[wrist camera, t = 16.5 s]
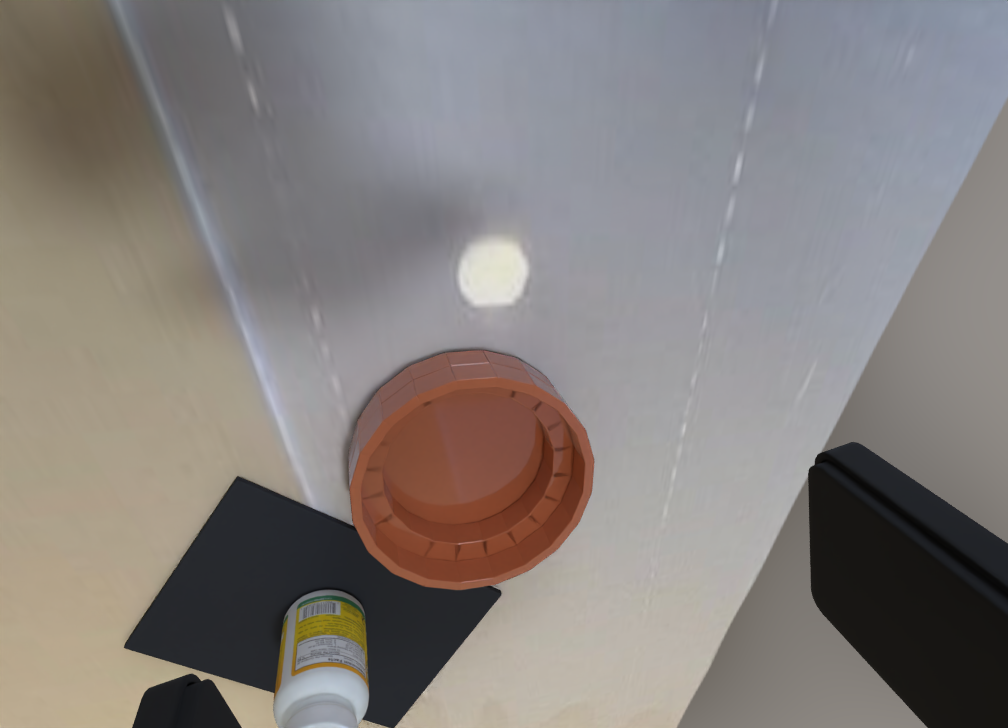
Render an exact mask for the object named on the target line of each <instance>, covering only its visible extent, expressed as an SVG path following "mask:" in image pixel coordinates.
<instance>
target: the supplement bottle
mask: <svg viewBox="0 0 1008 728" xmlns="http://www.w3.org/2000/svg"><path fill="white" fill-rule="evenodd" d="M368 702H369V683H368V665H367V640H366V624H365V613H364V609H363V607H362V605H361V604H360V602H359V601H358V600H356V599H355V598H354V597H353V596H351V595H349V594H347V593H345V592H342V591H338V590H319V591H315V592H312V593H309V594H307V595H305V596H303V597H301V598H300V599H298V600H297V601H296V602H295V603H294V604H293V605H292V606H291V607H290V608H289V610H288V611H287V613H286V615H285V618H284V622H283V628H282V637H281V645H280V654H279V663H278V671H277V678H276V687H275V693H274V705H273V712H274V718H275V721H276V723H277V725H278V727H279V728H358V724H359V723H360V722H361V720H362V719H363V717H364V715H365V713H366V710H367V707H368Z"/></svg>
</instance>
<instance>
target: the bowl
mask: <svg viewBox="0 0 1008 728" xmlns="http://www.w3.org/2000/svg"><path fill="white" fill-rule="evenodd" d="M593 472H594V457H593V454H592V450H591V447H590V443H589V440H588V436H587V433H586V430H585V428H584V427H583V425H582V424H581V423H580V421H579V420H578V419H577V417H576V416H575V414H574V413H573V412H572V410H571V409H570V408H569V406H568V405H567V403H566V402H565V401H564V399H563V398H562V397H561V395H560V394H559V393H558V391H557V390H556V389H555V388H554V386H553V385H552V384H551V382H550V381H549V380H548V378H547V377H546V376H545V375H543V374H542V373H540V372H539V371H537V370H536V369H534V368H532V367H531V366H529V365H528V364H526V363H524V362H523V361H521V360H520V359H517V358H515V357H511V356H506V355H502V354H498V353H494V352H490V351H485V350H483V351H482V350H475V351H461V352H447V353H442V354H440V355H437V356H434V357H432V358H429V359H426V360H424V361H421V362H418V363H416V364H413V365H410V366H409V367H407V368H406V369H405V370H403V371H402V372H401V373H399V374H398V375H397V376H395V377H394V378H393V379H392V380H390V381H389V382H388V383H386V384H385V385H384V386H382V387H381V388H380V389H379V390H378V391H377V392H376V394H375V395H374V397H373V398H372V399H371V401H370V402H369V404H368V405H367V407H366V408H365V409H364V411H363V412H362V414H361V415H360V417H359V418H358V420H357V423H356V427H355V431H354V434H353V438H352V441H351V445H350V448H349V489H350V500H351V511H352V521H353V524H354V526H355V528H356V530H357V532H358V534H359V536H360V538H361V539H362V541H363V543H364V545H365V547H366V549H367V551H368V552H369V553H370V554H371V555H372V556H373V557H375V558H376V559H377V560H378V561H379V562H380V563H381V564H382V565H384V566H385V567H386V568H387V569H388V570H389V571H390V572H392V573H393V574H395V575H398V576H400V577H402V578H405V579H407V580H410V581H412V582H414V583H417V584H419V585H422V586H425V587H432V588H442V589H451V590H465V589H471V588H478V587H484V586H491V585H495V584H498V583H501V582H503V581H506V580H508V579H510V578H513V577H515V576H518V575H520V574H522V573H525V572H527V571H529V570H530V569H532V568H533V567H535V566H536V565H537V564H539V563H540V562H541V561H543V560H544V559H545V558H547V557H548V556H550V555H551V554H552V553H554V552H555V551H556V550H557V549H558V548H559V547H560V546H561V545H562V543H563V542H564V541H565V540H566V538H567V537H568V536H569V535H570V533H571V532H572V531H573V530H574V529H575V527H576V526H577V525H578V523H579V522H580V519H581V517H582V515H583V512H584V510H585V508H586V505H587V503H588V500H589V498H590V496H591V492H592V484H593Z"/></svg>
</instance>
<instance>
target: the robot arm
mask: <svg viewBox="0 0 1008 728" xmlns="http://www.w3.org/2000/svg"><path fill="white" fill-rule="evenodd" d="M808 482H809V524H810V565H811V592H812V596H813V599H814V601H815V603H816V605H817V607H818V608H819V609H820V611H821V612H822V614H823V615H824V616H825V617H826V618H827V619H828V620H829V621H830V622H831V623H832V625H833V626H834V627H835V628H836V629H837V630H838V631H839V632H840V633H841V634H842V635H843V636H844V638H845V639H846V640H847V641H848V642H849V643H850V644H851V645H852V646H853V647H854V648H855V649H856V651H857V652H858V653H859V654H860V655H861V656H862V657H863V658H864V659H865V660H866V661H867V662H868V664H869V665H870V666H871V667H872V668H873V669H874V670H875V671H876V672H877V673H878V674H879V675H880V676H881V678H882V679H883V680H884V681H885V682H886V683H887V684H888V685H889V686H890V687H891V688H892V690H893V691H894V692H895V693H896V694H897V695H898V696H899V697H900V698H901V699H902V700H903V701H904V702H905V704H906V705H907V706H908V707H909V708H910V709H911V710H912V711H913V712H914V713H915V714H916V716H918V718H919V719H920V720H921V721H922V722H923V723H924V724H925V725H926V726H927V727H928V728H1008V543H1006V542H1005V541H1003V540H1002V539H1000V538H999V537H997V536H996V535H994V534H993V533H991V532H989V531H988V530H987V529H985V528H984V527H982V526H981V525H980V524H978V523H977V522H975V521H974V520H972V519H970V518H969V517H968V516H966V515H965V514H963V513H962V512H960V511H959V510H957V509H956V508H954V507H953V506H952V505H950V504H948V503H947V502H946V501H944V500H943V499H941V498H940V497H938V496H937V495H935V494H934V493H932V492H931V491H929V490H928V489H926V488H925V487H923V486H922V485H921V484H919V483H918V482H916V481H915V480H913V479H912V478H910V477H909V476H907V475H906V474H904V473H903V472H901V471H900V470H898V469H897V468H895V467H894V466H892V465H891V464H889V463H888V462H887V461H885V460H884V459H882V458H881V457H879V456H878V455H876V454H875V453H873V452H872V451H870V450H869V449H867V448H866V447H864V446H863V445H861V444H859V443H855V442H851V443H848V444H845V445H843V446H839V447H837V448H834V449H831V450H828V451H825V452H822V453H820V454H818V455H817V457H816V459H815V465H814V466H812V467H810V469H809V473H808ZM132 728H242V727H241V726H240V724H239V723H238V721H237V719H236V718H235V716H234V714H233V713H232V711H231V710H230V708H229V706H228V705H227V703H226V702H225V700H224V698H223V697H222V695H221V694H220V692H219V690H218V689H217V687H216V686H215V684H214V683H213V682H212V680H209V679H207V680H203V681H201V680H200V679H199V678H198V677H197V676H196V675H194V674H188V675H185V676H182V677H179V678H176V679H174V680H171V681H168V682H165V683H162V684H159V685H156V686H154V687H151V688H149V689H148V690H147V691H146V692H145V693H144V695H143V697H142V699H141V702H140V706H139V709H138V712H137V715H136V718H135V721H134V724H133V727H132Z"/></svg>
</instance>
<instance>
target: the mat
mask: <svg viewBox="0 0 1008 728" xmlns="http://www.w3.org/2000/svg"><path fill="white" fill-rule="evenodd" d="M319 590H338V591H342V592H345V593H347V594H349V595H351V596H353V597H354V598H355V599H356V600H358V601H359V602H360V604H361V605H362V607H363V609H364V613H365V624H366V640H367V665H368V683H369V702H368V707H367V710H366V713H365V715H364V717H363V720H366V721H369V722H373V723H376V724H379V725H383V726H386V727H389V728H394V727H395V726H396V725H397V724H398V722H399V721H400V720H401V719H402V717H403V716H404V715H405V714H406V712H407V711H408V710H409V709H410V707H411V706H412V705H413V704H414V702H415V701H416V700H417V699H418V698H419V696H420V695H421V694H422V693H423V691H424V690H425V689H426V688H427V686H428V685H429V684H430V683H431V681H432V680H433V679H434V678H435V676H436V675H437V674H438V673H439V671H440V670H441V669H442V668H443V667H444V665H445V664H446V663H447V662H448V660H449V659H450V658H451V657H452V655H453V654H454V653H455V652H456V650H457V649H458V648H459V647H460V645H461V644H462V643H463V642H464V640H465V639H466V638H467V637H468V636H469V634H470V633H471V632H472V631H473V629H474V628H475V627H476V626H477V624H478V623H479V622H480V621H481V619H482V618H483V617H484V616H485V614H486V613H487V612H488V611H489V609H490V608H491V607H492V606H493V605H494V603H495V602H496V601H497V600H498V598H499V597H500V596H501V591H500V590H498V589H495V588H493V587H491V586H484V587H478V588H471V589H465V590H451V589H442V588H432V587H425V586H422V585H419V584H417V583H414V582H412V581H410V580H407V579H405V578H402V577H400V576H398V575H395V574H393V573H392V572H390V571H389V570H388V569H387V568H386V567H385V566H384V565H382V564H381V563H380V562H379V561H378V560H377V559H376V558H375V557H373V556H372V555H371V554H370V553H369V552H368V551H367V549H366V547H365V545H364V543H363V541H362V539H361V538H360V536H359V534H358V532H357V530H356V528H355V527H353V526H351V525H348V524H346V523H344V522H341V521H339V520H337V519H335V518H332V517H330V516H328V515H325V514H323V513H321V512H318V511H316V510H314V509H312V508H309V507H307V506H305V505H302V504H300V503H298V502H295V501H293V500H291V499H289V498H286V497H284V496H282V495H279V494H277V493H275V492H272V491H270V490H268V489H266V488H263V487H261V486H259V485H256V484H254V483H252V482H250V481H247V480H245V479H243V478H240V477H237V478H236V479H235V481H234V482H233V484H232V485H231V487H230V488H229V490H228V491H227V493H226V494H225V496H224V497H223V499H222V500H221V502H220V503H219V504H218V506H217V507H216V509H215V510H214V512H213V513H212V515H211V516H210V518H209V519H208V521H207V522H206V524H205V525H204V527H203V528H202V530H201V531H200V533H199V534H198V536H197V537H196V539H195V540H194V542H193V543H192V545H191V546H190V548H189V549H188V551H187V552H186V554H185V555H184V557H183V558H182V560H181V561H180V563H179V564H178V566H177V567H176V569H175V570H174V572H173V573H172V575H171V576H170V578H169V579H168V581H167V582H166V584H165V585H164V587H163V588H162V590H161V591H160V593H159V594H158V596H157V597H156V599H155V600H154V602H153V603H152V605H151V606H150V608H149V609H148V611H147V612H146V614H145V615H144V616H143V618H142V619H141V621H140V622H139V624H138V625H137V627H136V628H135V630H134V631H133V633H132V634H131V636H130V637H129V639H128V640H127V642H126V643H125V646H124V648H126V649H129V650H132V651H136V652H139V653H142V654H146V655H149V656H152V657H156V658H159V659H162V660H166V661H169V662H172V663H176V664H179V665H182V666H186V667H189V668H192V669H196V670H199V671H203V672H206V673H209V674H213V675H216V676H219V677H223V678H226V679H229V680H233V681H236V682H239V683H243V684H246V685H249V686H253V687H256V688H259V689H263V690H266V691H269V692H273V693H275V687H276V678H277V671H278V663H279V654H280V645H281V637H282V628H283V622H284V618H285V615H286V613H287V611H288V610H289V608H290V607H291V606H292V605H293V604H294V603H295V602H296V601H297V600H298V599H300V598H301V597H303V596H305V595H307V594H309V593H312V592H315V591H319Z"/></svg>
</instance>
